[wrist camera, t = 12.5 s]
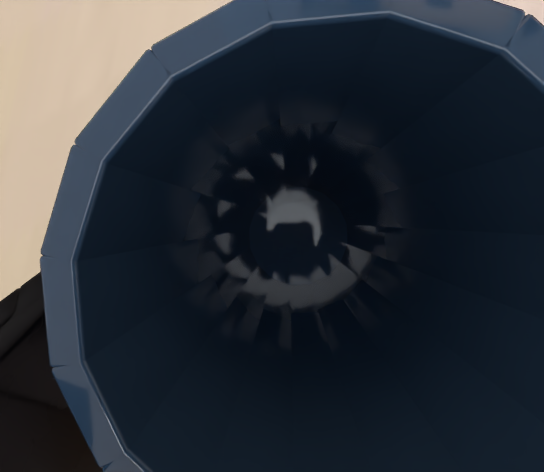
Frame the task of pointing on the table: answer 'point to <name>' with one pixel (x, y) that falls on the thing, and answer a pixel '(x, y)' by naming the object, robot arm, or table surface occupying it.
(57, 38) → the table surface
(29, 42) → the table surface
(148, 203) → the tumbler
